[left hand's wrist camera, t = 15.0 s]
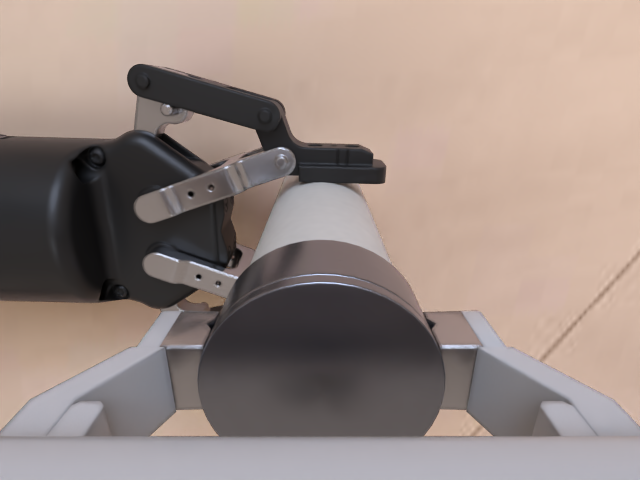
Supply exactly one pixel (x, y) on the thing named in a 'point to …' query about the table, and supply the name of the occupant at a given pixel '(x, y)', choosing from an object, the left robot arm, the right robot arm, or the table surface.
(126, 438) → the left robot arm
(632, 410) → the table surface
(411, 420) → the lid
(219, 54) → the table surface
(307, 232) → the white plastic cylinder
